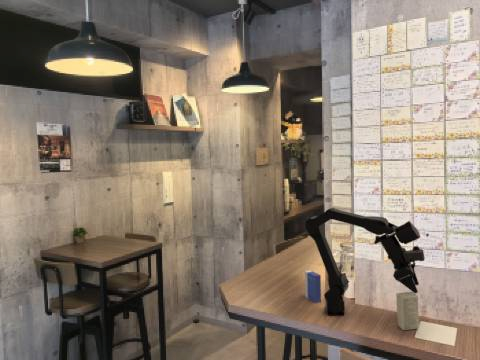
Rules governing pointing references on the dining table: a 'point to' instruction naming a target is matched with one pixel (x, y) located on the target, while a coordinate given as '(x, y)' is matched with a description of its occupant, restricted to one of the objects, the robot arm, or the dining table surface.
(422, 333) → the mat
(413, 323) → the skincare box
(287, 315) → the dining table surface
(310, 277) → the walkman
